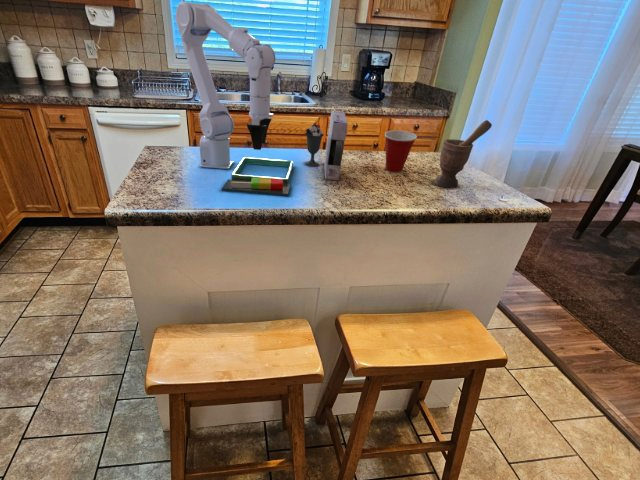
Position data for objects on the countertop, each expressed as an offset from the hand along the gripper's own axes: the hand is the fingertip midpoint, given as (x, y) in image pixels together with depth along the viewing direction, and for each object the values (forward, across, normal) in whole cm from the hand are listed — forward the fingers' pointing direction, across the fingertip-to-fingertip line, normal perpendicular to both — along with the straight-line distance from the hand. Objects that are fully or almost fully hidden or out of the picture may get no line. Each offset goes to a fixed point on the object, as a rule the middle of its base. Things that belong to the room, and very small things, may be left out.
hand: (259, 146), depth 116 cm
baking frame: (+9, +4, -1) cm, 10 cm away
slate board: (+9, -11, -1) cm, 15 cm away
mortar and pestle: (+9, +9, -62) cm, 63 cm away
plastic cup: (+9, +20, -45) cm, 50 cm away
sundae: (+10, +19, -16) cm, 27 cm away
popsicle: (+9, -11, -1) cm, 14 cm away
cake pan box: (+9, +11, -23) cm, 27 cm away
